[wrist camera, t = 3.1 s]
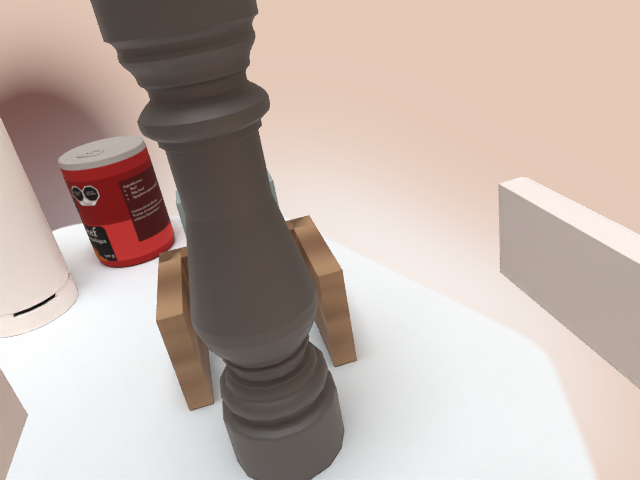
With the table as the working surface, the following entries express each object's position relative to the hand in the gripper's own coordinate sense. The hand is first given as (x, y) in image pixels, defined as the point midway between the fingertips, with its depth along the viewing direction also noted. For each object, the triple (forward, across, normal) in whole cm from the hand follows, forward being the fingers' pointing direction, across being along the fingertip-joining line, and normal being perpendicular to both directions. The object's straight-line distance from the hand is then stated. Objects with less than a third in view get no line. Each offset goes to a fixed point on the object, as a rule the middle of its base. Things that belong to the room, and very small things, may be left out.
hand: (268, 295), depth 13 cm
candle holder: (+10, -1, -16) cm, 19 cm away
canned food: (+41, -11, -15) cm, 45 cm away
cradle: (+18, -1, -16) cm, 24 cm away
